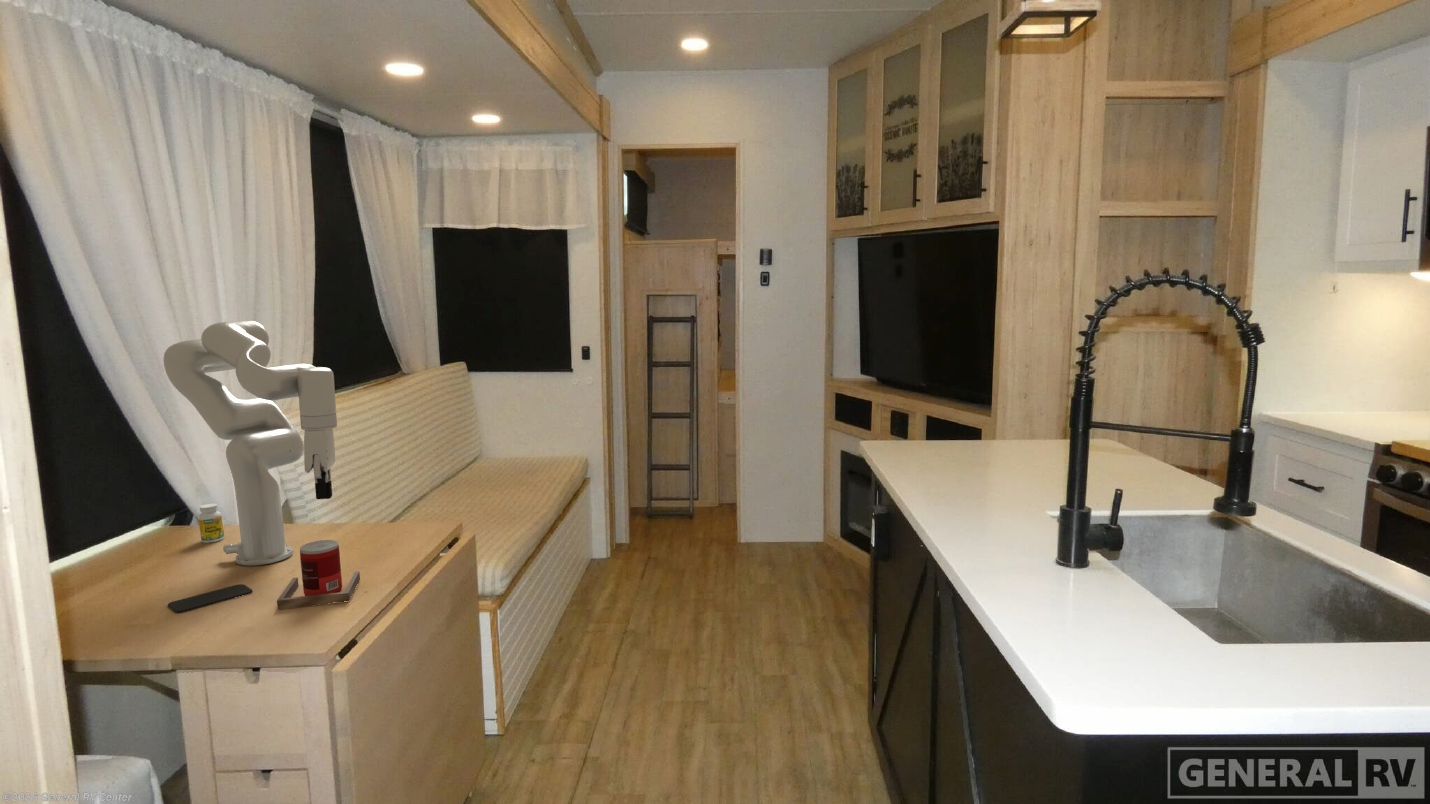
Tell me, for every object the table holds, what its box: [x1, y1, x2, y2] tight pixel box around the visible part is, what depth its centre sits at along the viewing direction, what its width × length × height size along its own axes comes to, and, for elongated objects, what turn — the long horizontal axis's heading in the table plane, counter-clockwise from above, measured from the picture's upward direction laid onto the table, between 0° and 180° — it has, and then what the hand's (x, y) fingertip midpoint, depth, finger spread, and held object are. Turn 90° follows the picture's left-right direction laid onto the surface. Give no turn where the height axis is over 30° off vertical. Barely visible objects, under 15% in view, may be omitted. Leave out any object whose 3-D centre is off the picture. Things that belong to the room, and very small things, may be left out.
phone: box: [167, 583, 253, 614], centre depth 179 cm, size 7×1×15 cm
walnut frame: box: [276, 571, 361, 611], centre depth 180 cm, size 14×14×2 cm
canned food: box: [299, 539, 343, 596], centre depth 180 cm, size 8×8×11 cm
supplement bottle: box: [197, 503, 225, 544], centre depth 219 cm, size 5×5×10 cm
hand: (324, 497), depth 191 cm, fingers closed
